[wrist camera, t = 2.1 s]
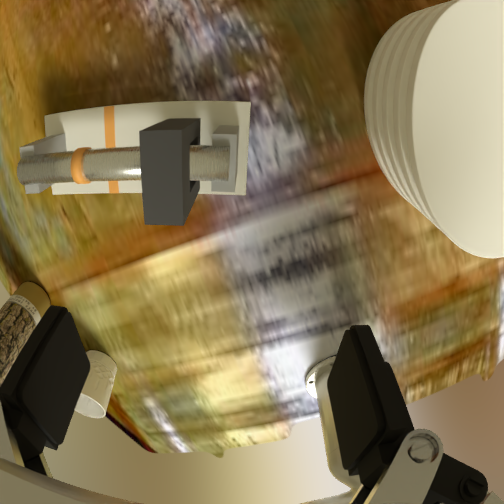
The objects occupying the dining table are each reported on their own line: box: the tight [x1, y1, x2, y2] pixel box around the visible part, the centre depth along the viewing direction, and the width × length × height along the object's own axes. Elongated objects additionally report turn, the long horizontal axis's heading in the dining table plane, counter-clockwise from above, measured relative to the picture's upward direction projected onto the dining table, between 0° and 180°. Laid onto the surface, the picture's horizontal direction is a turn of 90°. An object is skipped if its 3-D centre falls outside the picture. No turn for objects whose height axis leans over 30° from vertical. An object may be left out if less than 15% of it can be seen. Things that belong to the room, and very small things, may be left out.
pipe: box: [17, 145, 230, 185], centre depth 25 cm, size 21×3×3 cm, turn 87°
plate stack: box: [364, 0, 504, 258], centre depth 25 cm, size 28×28×12 cm
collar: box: [139, 118, 201, 226], centre depth 25 cm, size 3×7×8 cm, turn 177°
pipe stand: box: [20, 101, 251, 195], centre depth 29 cm, size 24×10×8 cm, turn 87°
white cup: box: [75, 350, 117, 418], centre depth 45 cm, size 8×8×10 cm
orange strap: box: [71, 106, 119, 193], centre depth 27 cm, size 1×10×8 cm, turn 177°
